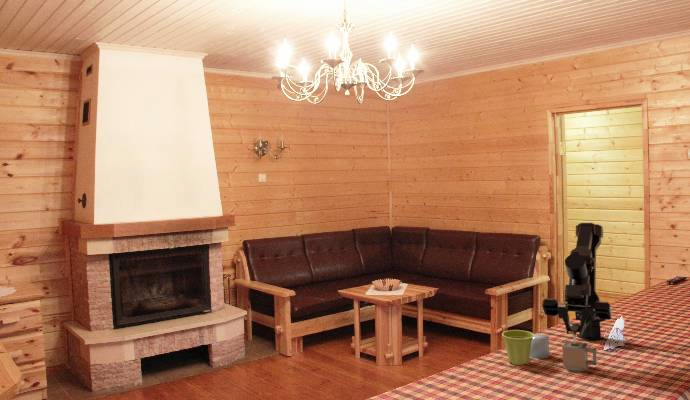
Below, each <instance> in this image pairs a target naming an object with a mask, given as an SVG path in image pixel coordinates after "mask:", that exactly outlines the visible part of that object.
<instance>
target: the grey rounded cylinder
mask: <svg viewBox="0 0 690 400" xmlns="http://www.w3.org/2000/svg"><path fill="white" fill-rule="evenodd" d="M533 334H534V337H533V339H532V342H531V350H530V358H532V359H539V360H541V359H543V360H544V359H547V358H549V357H550V339H549V335H548V334H544V333H542V334H541V333H533Z"/></svg>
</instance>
